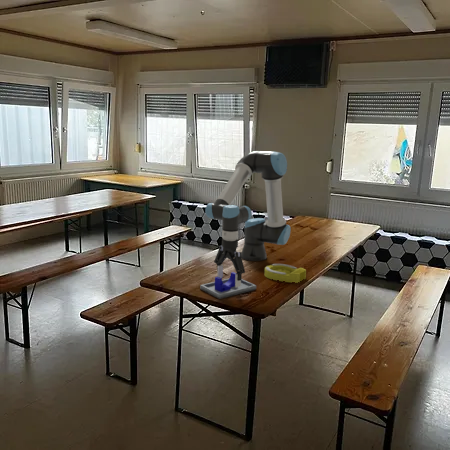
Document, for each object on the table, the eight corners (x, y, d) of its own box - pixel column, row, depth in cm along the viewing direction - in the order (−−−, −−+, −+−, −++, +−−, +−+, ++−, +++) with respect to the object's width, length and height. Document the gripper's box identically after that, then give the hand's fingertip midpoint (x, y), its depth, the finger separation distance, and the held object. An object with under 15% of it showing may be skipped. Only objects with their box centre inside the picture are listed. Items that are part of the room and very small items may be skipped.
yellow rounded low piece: (294, 285, 224) (295, 276, 223) (258, 276, 236) (259, 267, 235) (308, 277, 237) (309, 268, 236) (274, 269, 249) (274, 260, 248)
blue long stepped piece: (221, 292, 209) (221, 279, 208) (214, 289, 212) (215, 277, 211) (239, 286, 218) (239, 274, 216) (232, 283, 221) (233, 272, 219)
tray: (236, 280, 228) (236, 276, 227) (256, 289, 216) (256, 285, 216) (200, 289, 215) (200, 285, 214) (219, 299, 203) (219, 294, 203)
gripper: (207, 234, 217) (206, 276, 222) (241, 246, 198) (239, 292, 203) (220, 232, 222) (219, 273, 227) (254, 243, 203) (252, 288, 208)
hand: (228, 282), depth 215 cm, fingers open, 13 cm apart
